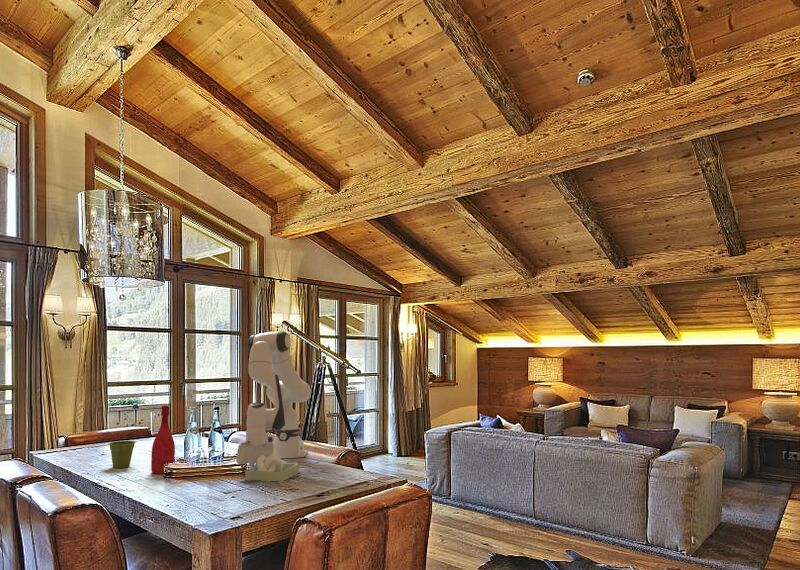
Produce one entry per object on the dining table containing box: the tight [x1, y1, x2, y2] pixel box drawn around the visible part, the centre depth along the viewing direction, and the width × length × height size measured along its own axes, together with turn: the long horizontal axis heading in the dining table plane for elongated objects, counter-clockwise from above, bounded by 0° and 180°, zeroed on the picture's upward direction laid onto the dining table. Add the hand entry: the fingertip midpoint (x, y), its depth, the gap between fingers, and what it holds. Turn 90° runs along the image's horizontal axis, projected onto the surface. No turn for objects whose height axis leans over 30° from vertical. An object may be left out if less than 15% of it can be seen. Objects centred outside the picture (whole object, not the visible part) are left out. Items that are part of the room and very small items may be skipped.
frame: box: [244, 462, 300, 483], centre depth 265 cm, size 20×17×4 cm
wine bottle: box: [150, 404, 176, 475], centre depth 272 cm, size 10×10×30 cm
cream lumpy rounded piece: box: [257, 453, 284, 472], centre depth 266 cm, size 11×12×9 cm
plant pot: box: [108, 440, 137, 469], centre depth 283 cm, size 12×12×11 cm
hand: (254, 471), depth 266 cm, fingers closed
